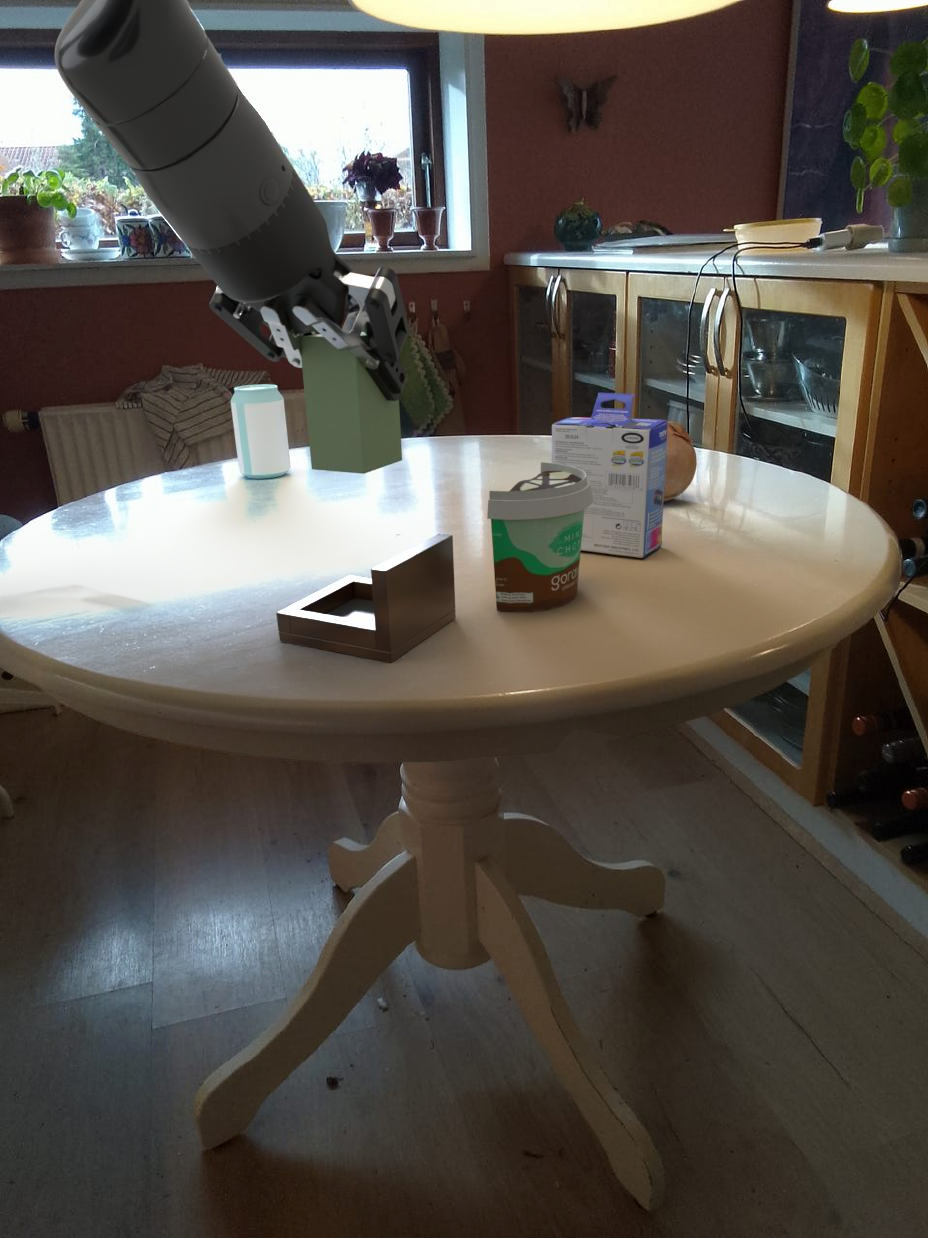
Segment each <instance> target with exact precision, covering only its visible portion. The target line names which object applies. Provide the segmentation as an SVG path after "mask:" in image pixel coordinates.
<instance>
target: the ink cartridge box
mask: <svg viewBox="0 0 928 1238" xmlns="http://www.w3.org/2000/svg"><path fill="white" fill-rule="evenodd" d="M634 398H635V393H618V392H617V393H616V392H598V393H597V397H596V400H595V404H594V406H593V410H592V414H591V416H590V417H582V416H581V417H578V416H577V417H576V416H574V417H572V416H571V417H567V418H564V419H561V420H559V421H556V422H554V423H552V424H551V463H557V464H563V465H568V466H573V467H576V468H579V469H581V470H583V471H584V472H585V473H586V475H587V479H588V480H589V482H590V486H591V491H592V496H593V503H592V504H591V505H590V506H589V507H587V508H585V509H584V520H583V531H582V542H581V551H583V552H590V553H591V552H592V553H599V554H600V553H601V554H608V555H614V556H615V555H616V556H623V557H631V558H632V557H633V558H638V559H641V558H645V557H646V556H648V555H650V554H651V553H652V552H654V551H655V550H657V549H659V548H660V547H662V543H663V541H662V540H663V520H664V519H663V518H664V502H663V501H664V482H665V464H666V444H667V422H668V419H650V418H649V419H648V418H632V411H633V410H632V409H633V404H634ZM611 401H618V402H620V403H623V404H624V405H625V407H624V408H614V407H613V408H612V407H602V404H604V403H606V402H611Z"/></svg>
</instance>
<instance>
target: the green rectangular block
mask: <svg viewBox="0 0 928 1238" xmlns="http://www.w3.org/2000/svg"><path fill="white" fill-rule="evenodd" d="M360 338H361V340H362V341H363V342H364V343H365V344H366V345H367V344H368V342H369V339H370V338H369V337H368V336H367V335H366V334H365V333H364V332H363V331H362V332H361V335H360ZM301 345H302V353H301V359H302V368H301V369H302V378H303V379H302V380H303V390H304V391H303V392H304V399H305V411H306V423H307V432H308V433H307V434H308V442H309V452H310V464H311V470H314V471H315V470H316V471H328V472H339V473H349V474H350V473H351V474H361V475H362V474H363V475H365V474H367V473H370V472H374V471H376V470H379V469H382V468H385V467H387V466H390V465H393V464H395V463H398V462H401V461H403V450H402V449H403V448H402V431H401V429H402V428H401V415H400V414H401V413H400V400H399V399H400V398H399V399H398V400H397V401H388V400H386V398H385V397H384V396H383V394H382V393H381V391H380V390H379V388H378V387H377V385H376V384H375V382H374V381H373V379H372V378H371V376H370V375H369V373H368V372H367V370H366V367H365V366H364V365H363V364H362V363H361V362H360V361H359V360H358V359H357V358H356V357H354V356H353V355H352V354H351V353H350V352H349V351H348V350H343V351H339V350H338V349H336V348H335V347H334V346H333V345H332V344H331V343H330V342H329V341H328V340H327V339H326V338H324V337H323V336H322V335H321V334H320V333H317V334H316V335H309V336H303V337H302V340H301Z"/></svg>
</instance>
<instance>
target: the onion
mask: <svg viewBox="0 0 928 1238" xmlns="http://www.w3.org/2000/svg"><path fill="white" fill-rule="evenodd" d="M693 442H694V440H693V439H692V438H691V437H690V434H689V433H688V432H687V429H686V428H685V427H684V426H683V425H682V423H679V422H676V421H668V420H667V444H666V464H665V482H664V501H663V503H666V502H669V501H671V500H674V499H675V498H677V497H679V496H681V494H683V493H684V492H685V491H686V490H687V489H689V487H690V486H691V483H692V482H693V480H694V478H695V475H696V471H697V465H698V460H697V452H696V450H695V449H696V448H695V447H694V445H693Z"/></svg>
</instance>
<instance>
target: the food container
mask: <svg viewBox="0 0 928 1238" xmlns="http://www.w3.org/2000/svg"><path fill="white" fill-rule="evenodd" d="M488 492H489V496H488V497H489V498H488V500H487V514H486V515H487V516H486V519H488V520H490V526H491V544H492V554H493V555H492V557H493V558H492V560H493V575H494V588H495V589H494V590H495V604H496V605H495V606H496V607H495V608H496V611H501V612H510V613H515V612H516V613H517V612H519V613H521V612H523V613H525V612H526V613H527V612H529V613H530V612H538V611H539V612H540V611H545V610H546V611H547V610H552V609H556V608H559V607H563V606H565V605H567V604H568V603H571V602H572V601H573V600H574V599H576V597H577V593H578V585H579V584H578V583H579V575H580V573H579V572H580V562H581V551H582V550H581V542H582V531H583V520H584V509H585V508H587V507H589V506H590V505H591V504H592V503H593V496H592V491H591V486H590V482H589V480H588V479H587V475H586V473H585V472H584V471H583V470H581V469H579V468H576V467H573V466H568V465H563V464H557V463H552V462H547V461H541V462H540V473H538V474H537V475H536V476H534V477H532V478H530V479H529V478H528V479H523V480H520V481H518V482H517V483H516V484H514V486H513V487H512V488H511V489H510V490H489V491H488Z"/></svg>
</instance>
